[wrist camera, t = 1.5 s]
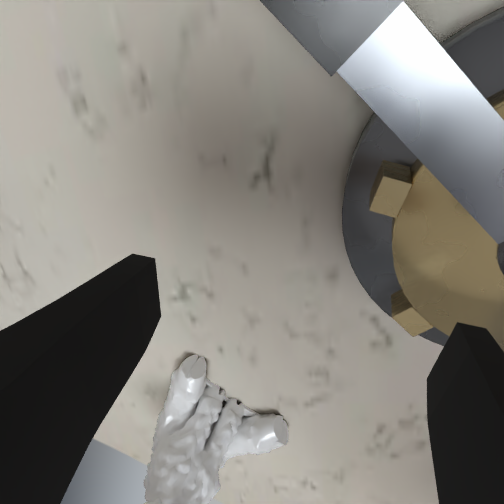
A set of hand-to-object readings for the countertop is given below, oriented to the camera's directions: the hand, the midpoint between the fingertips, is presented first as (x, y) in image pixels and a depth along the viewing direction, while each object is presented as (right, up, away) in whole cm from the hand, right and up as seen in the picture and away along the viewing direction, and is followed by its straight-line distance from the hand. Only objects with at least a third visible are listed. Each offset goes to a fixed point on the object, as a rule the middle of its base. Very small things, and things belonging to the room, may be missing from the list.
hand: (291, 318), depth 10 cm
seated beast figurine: (-4, -10, +21) cm, 24 cm away
